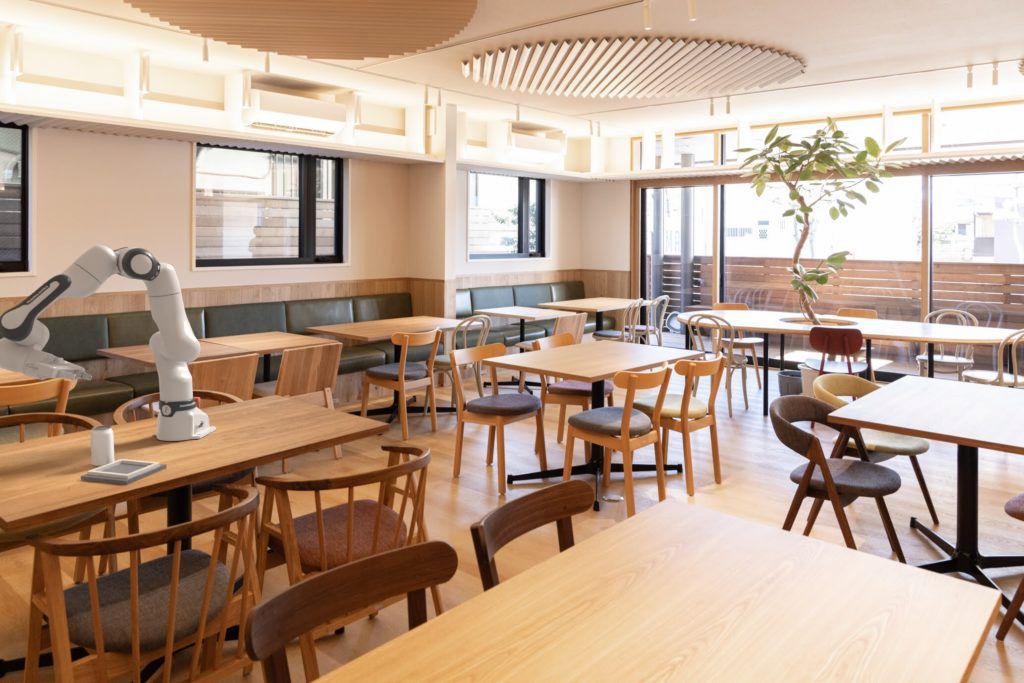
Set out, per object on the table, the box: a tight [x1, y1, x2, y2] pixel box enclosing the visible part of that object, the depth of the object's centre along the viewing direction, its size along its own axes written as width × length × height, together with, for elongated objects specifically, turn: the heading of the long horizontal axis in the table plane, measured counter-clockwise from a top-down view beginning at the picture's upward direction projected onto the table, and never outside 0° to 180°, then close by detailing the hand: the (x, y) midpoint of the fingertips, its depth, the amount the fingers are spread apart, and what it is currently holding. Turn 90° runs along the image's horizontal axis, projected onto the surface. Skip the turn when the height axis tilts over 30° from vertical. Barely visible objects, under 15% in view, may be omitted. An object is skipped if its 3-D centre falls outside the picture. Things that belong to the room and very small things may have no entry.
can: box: [90, 425, 115, 467], centre depth 255 cm, size 6×6×12 cm
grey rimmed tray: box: [80, 458, 167, 485], centre depth 246 cm, size 18×16×2 cm
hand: (83, 377), depth 255 cm, fingers open, 8 cm apart
